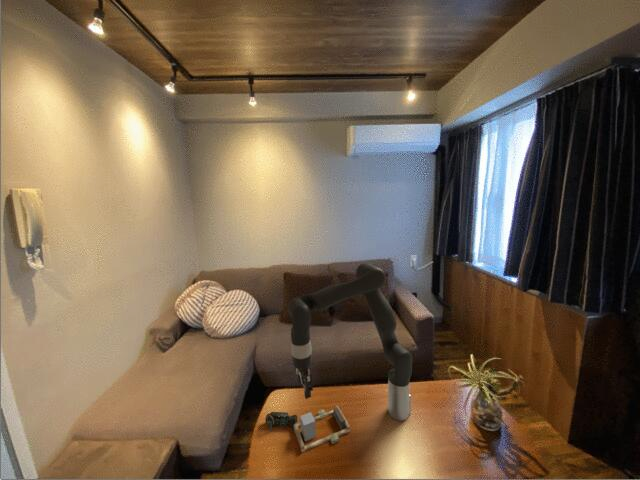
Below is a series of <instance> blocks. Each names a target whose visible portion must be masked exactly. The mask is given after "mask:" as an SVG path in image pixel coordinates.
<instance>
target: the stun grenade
mask: <svg viewBox="0 0 640 480" xmlns="http://www.w3.org/2000/svg"><path fill="white" fill-rule="evenodd" d="M264 421H265V422H264V423H265V425H266V426H267V428H268V430H269V431H270V432H272V429H273V427H275V426H287V427H292V428H294V424H296V423H297V424H298V415H297V414H292V415H289V412H288V411H287V412H284V411H283V412H282V411H271V412H269V413H267V414H266V415H265V420H264Z"/></svg>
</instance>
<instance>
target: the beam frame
mask: <svg viewBox="0 0 640 480" xmlns="http://www.w3.org/2000/svg"><path fill="white" fill-rule="evenodd" d="M331 415H333V417H334V419H335V421H336V423H337V425H338V426H339V429H340V430H339V431H337V432H333V433H331V434H329V435H327V436H325V437H323V438H320V439H317V440H315V441H313V442H310V443H309V444H306V445H305V443H304V441H303V440H304V439H303V436H302V434H301V432H300V429H299V428H301V421H300V422H297V423H296V424H294V427H293V430H294V433H295V435H296V439H297V441H298V445H299V447H300V451H301V453H304V452H306V451H309V450H311V449H313V448H315V447H317V446H320V445H323V444H325V443H327V442H329V441H330V442H331V445H333V444H336V443H338V442H340V440H339V439H340V438H339V437H341V436H343V435H345V434H347V433H350V432H351V425H350V424H349V422H348V421H347V418H345V415H344V413H343V412H342V410H341V408H340V407H339V405H335V407H333V409H331V410H329V411H325V409H324V408H323V409H319V410H317V415H316V416H313V417H314V420H315V422H316V421H318V420H322V419H324V418H327V417H329V416H331Z"/></svg>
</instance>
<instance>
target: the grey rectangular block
mask: <svg viewBox="0 0 640 480" xmlns="http://www.w3.org/2000/svg"><path fill="white" fill-rule="evenodd" d="M299 417H300V418H299V420H300V422H301V427H300V429H301V430H300V431H301V432H300V433H301V436H302V439H303V440H304V441H303V442H308V441H311V440H314V439H316V438H317V430H316V421H315V420H314V417H315V416H313V413H312V412H311V411H310V412H308V413H305V414H302V415H300V416H299Z"/></svg>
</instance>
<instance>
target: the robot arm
mask: <svg viewBox="0 0 640 480" xmlns="http://www.w3.org/2000/svg"><path fill="white" fill-rule="evenodd" d="M355 270H356V271H355V279H354V280H351V281H348V282H343V283H337V284H332V285H329V286H326V287H323V288H321V289H320V290H317V291H316V292H314V293H309V294H303V295H300V296H297V297H295V298H293V299H291V300H290V302H289V303H288V304H287V308H286V309H287V312H288V315H289V316H290V318H291V321H292V327H291V328H290V338H291V340H290V341H291V344H290V347H291V348H290V349H291V350H290V351H291V362H292V364H291V365H292V366H293V367H294V370H295V373H296V376H297V383H298V385H300V384H302V385H303V391H304V399H306V400H307V399H309V398H312V395H311V393H312V391H314V387H313V376H312V374H310V373H311V372H310V368H309V367H310V366H311V365H312V363H313V351H312V350H313V349H312V343H311V333H310V332H311V331H310V329H311V323H312V322H311V321H312V312H311V311H314V310H315V311H318V312H321V311H324V310H326V309H328V308H329V307H332V306H334V305H336V304H338V303H340V302H342V301H345V300H348V299H351V298H353V297H356V296H360V295H362V294H363V295H364V297H365V300H366V303H367V307H368V309H369V312H370V315H371V318H372V320H373V323H374V325H375V328H376V331H377V333H378V336H379V338H380V341H381V346H382V349H383V353H384V357H385V358H386V360H387V361H388V362H389V363H390V364H391V366H392V367H394V368H391V369H389V371H388V374H387V379H388V381H387V382H388V383H387V385H388V386H387V387H388V390H387V392H388V394H387V395H388V396H387V403H388V407H387V410H388V415H389V417H391V418H392V419H394V420H396V421H401V422H403V421H406V420H407V419H409V417H410V415H411V414H412V396H411V394H410V379H411V378H412V374H413V373H412V371H413V355H412V353H411V352H410V351H409V350H408V349H406V348H405V347H404V346H402V345H401V344H400V342H399V340H398V338H397V336H396V334H395V332H396V330H397V323H398V322H397V319H396V316H395V313H394V310H393V308H392V306H391V304H390V302H389V301H388V300H387V298H386V297H385V296H384V294H383V292H382V291H381V288H382V287H383V286H384V285H385V282H386V274H385V272H384V270H383V269H381V268H379V267H378V266H375V265H373V264H371V263H365V262H364V263H361V264H360V265H358V266H357V268H356V269H355Z"/></svg>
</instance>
